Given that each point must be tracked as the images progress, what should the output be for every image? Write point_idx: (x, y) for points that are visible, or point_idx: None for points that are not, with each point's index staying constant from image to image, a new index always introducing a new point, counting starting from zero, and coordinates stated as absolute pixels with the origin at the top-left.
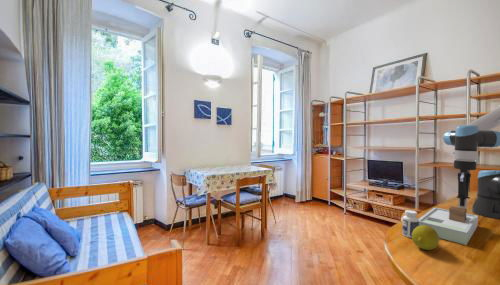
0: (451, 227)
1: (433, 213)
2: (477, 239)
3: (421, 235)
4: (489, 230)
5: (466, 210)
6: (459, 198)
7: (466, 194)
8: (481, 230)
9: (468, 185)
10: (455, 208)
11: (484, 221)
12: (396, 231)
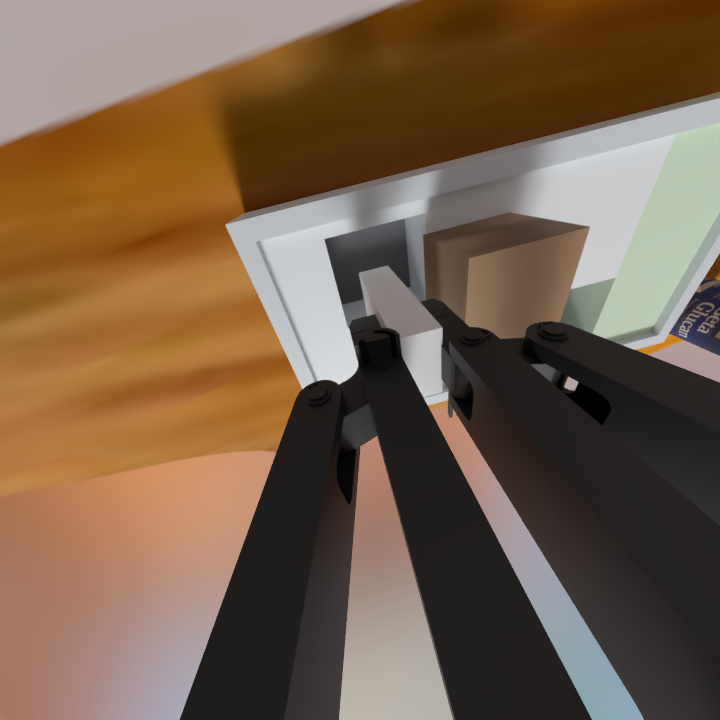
0: (679, 209)
1: None
2: (565, 87)
3: None
4: (265, 108)
5: (472, 250)
6: (441, 384)
7: (495, 375)
8: (330, 150)
9: (294, 655)
10: (540, 307)
11: (51, 232)
12: None
